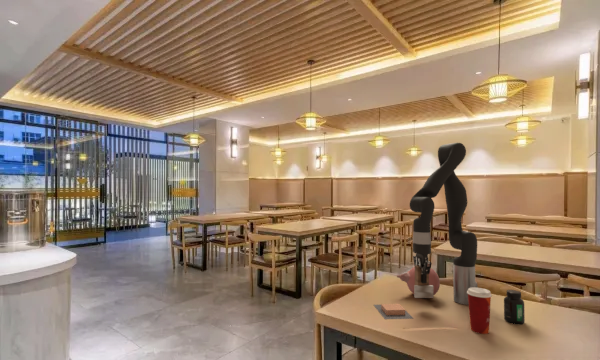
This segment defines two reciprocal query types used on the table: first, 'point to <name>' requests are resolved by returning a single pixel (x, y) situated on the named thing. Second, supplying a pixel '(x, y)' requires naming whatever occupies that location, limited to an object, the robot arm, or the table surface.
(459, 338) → the table surface
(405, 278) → the pink rounded piece
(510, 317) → the supplement bottle
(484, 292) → the coffee cup
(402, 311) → the tile
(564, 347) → the table surface
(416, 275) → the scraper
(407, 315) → the mat
